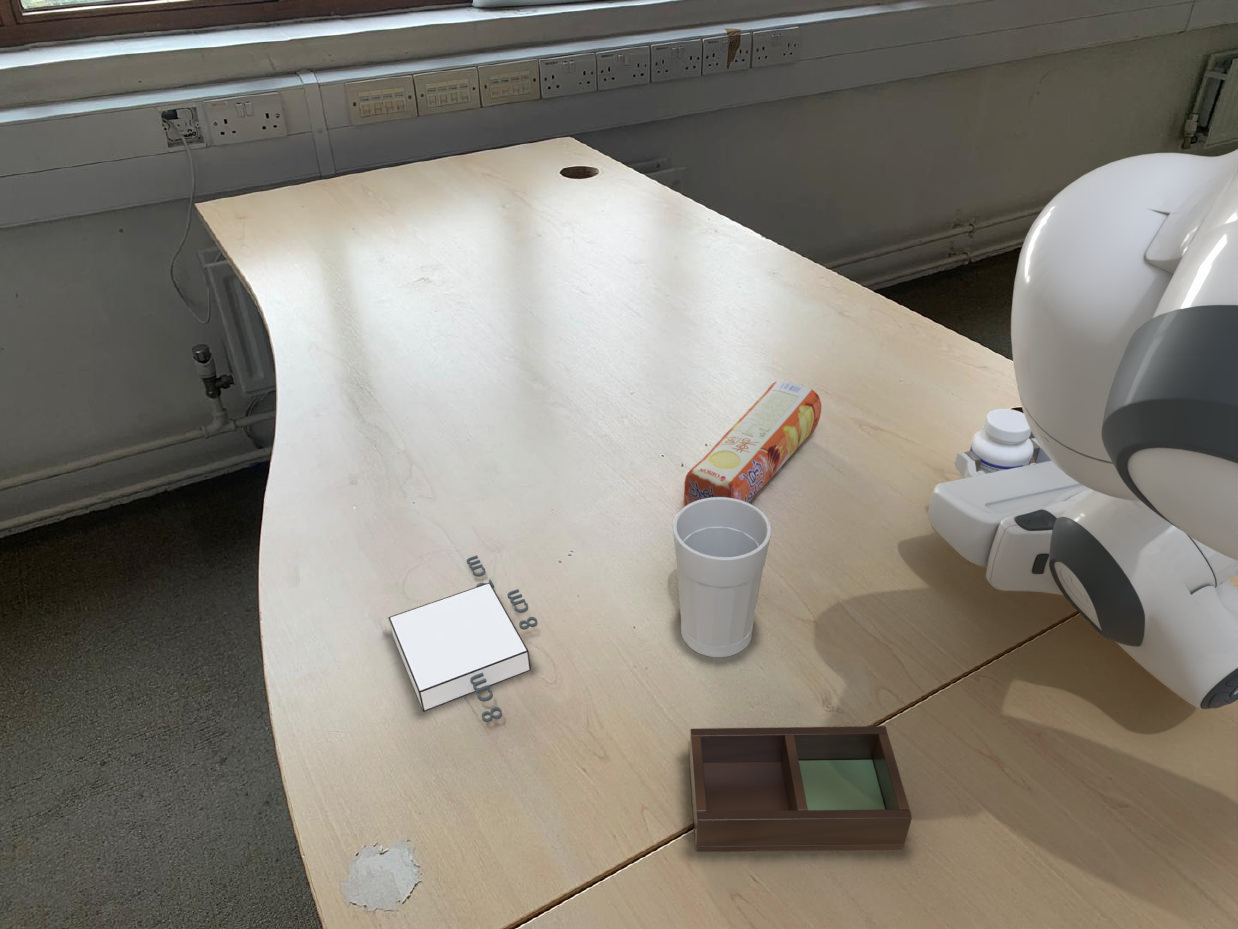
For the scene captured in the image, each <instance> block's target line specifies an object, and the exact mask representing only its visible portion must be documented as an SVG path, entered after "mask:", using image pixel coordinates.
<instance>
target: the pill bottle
mask: <svg viewBox="0 0 1238 929" xmlns="http://www.w3.org/2000/svg"><path fill="white" fill-rule="evenodd" d="M1031 433H1032V431H1031V429H1030V427H1029V425H1028V423H1027V420H1026V418H1025V415H1024V412H1021V411H1019V410H1015V409H1012V408H1011V409H1010V408H996V409H993V410H991V411H989V412H988V413H987V414H986V416H985V420H984V423H983V428H981V429H980V430H978V431H977V432H976V433H974V435H973V437H972V440H971V444H970V449H969V451H974V452H975V454H976V455H978V456H979V457H981V458H982V461H981V465H980V466H979V468H980V470H979V471H981V470H982V471H984V472H985V473H986V474H988V473H993V472H998V471H1003V470H1007V469H1012V468H1017V467H1022V466H1027V465H1031V464H1030V462H1031V459H1032V455H1033V451H1034V448H1033V444H1032V442H1031V440H1030V439H1031V438H1030V437H1031V435H1032V434H1031Z"/></svg>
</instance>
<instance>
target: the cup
mask: <svg viewBox="0 0 1238 929" xmlns="http://www.w3.org/2000/svg"><path fill="white" fill-rule="evenodd" d="M672 533H673V542H674V552H675V553H674V554H675V563H676V564H675V566H676V574H677V575H676V577H677V587H678V600H679V601H678V602H679V609H680V611H679V612H680V633H681V637H682V639H683V641H684V643H685V644H686V645H687V646H688V647H689V648H690V649H691V650H692V651H694V652H696V653H698V654H700V655H702V656H705V657H711V658H727V657H733V656H734V655H737V654H739V653H740V652H742V651H743V650H745V649H747V647H748V646H749V644H750V642H751V641H752V637H753V628H754V618H755V613H756V608H757V602H758V597H759V591H760V586H761V582H762V575H763V571H764V567H765V565H766V559H767V555H768V551H769V546H770V541H771V537H772V525H771V522H770V520H769V518H768V517H767V516H766V514H765V513H764V512H763V511H762V510H760V508H758V507H757V506H754V504H751V503H750V502H749V503H747V502H744V501H741V500H738V499H733V498H726V497H712V498H705V499H701V500H697V501H695V502H692V503H690V504H688V505H687V506H685V505H684V506H683V507H682V508H681V509H680V510H679V511H678V512H677V513H676V515H675V517H674V519H673V522H672Z"/></svg>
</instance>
